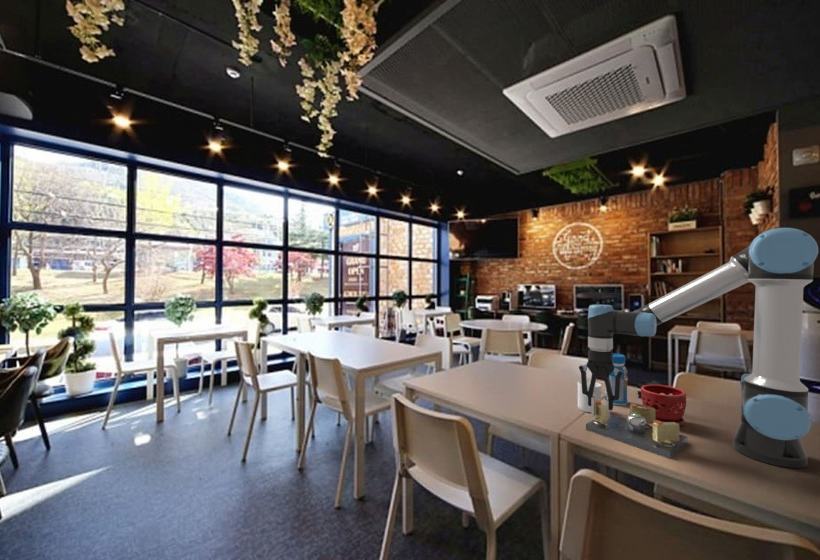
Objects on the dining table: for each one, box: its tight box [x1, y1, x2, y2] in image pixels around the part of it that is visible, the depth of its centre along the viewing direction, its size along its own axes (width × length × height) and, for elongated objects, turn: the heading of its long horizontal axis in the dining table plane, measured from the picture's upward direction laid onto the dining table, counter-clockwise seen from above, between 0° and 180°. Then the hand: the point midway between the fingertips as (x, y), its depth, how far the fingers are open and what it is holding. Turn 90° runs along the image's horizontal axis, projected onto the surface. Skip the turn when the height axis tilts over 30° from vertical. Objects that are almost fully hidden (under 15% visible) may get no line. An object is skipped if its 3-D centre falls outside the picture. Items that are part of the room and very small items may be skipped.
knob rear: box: [629, 403, 655, 426], centre depth 117 cm, size 7×3×6 cm, turn 72°
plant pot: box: [640, 384, 687, 427], centre depth 125 cm, size 13×13×12 cm
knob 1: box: [594, 400, 607, 424], centre depth 119 cm, size 7×3×6 cm, turn 171°
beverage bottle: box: [604, 353, 629, 407], centre depth 145 cm, size 8×8×20 cm
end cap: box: [637, 379, 661, 400], centre depth 151 cm, size 10×7×7 cm
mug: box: [577, 380, 608, 414], centre depth 135 cm, size 12×8×10 cm
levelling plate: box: [585, 413, 689, 459], centre depth 113 cm, size 24×17×7 cm
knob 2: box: [652, 421, 680, 445], centre depth 104 cm, size 7×3×6 cm, turn 94°
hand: (600, 417), depth 119 cm, fingers closed on knob 1, 4 cm apart
